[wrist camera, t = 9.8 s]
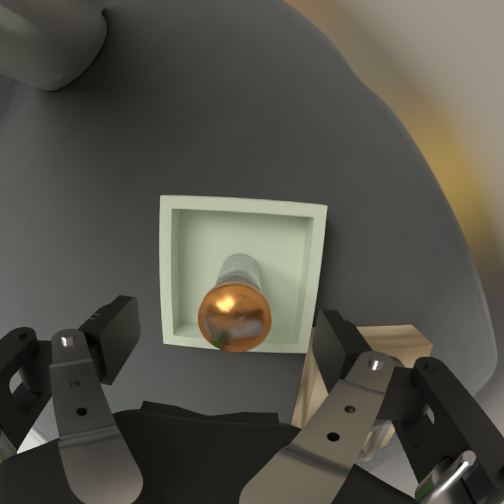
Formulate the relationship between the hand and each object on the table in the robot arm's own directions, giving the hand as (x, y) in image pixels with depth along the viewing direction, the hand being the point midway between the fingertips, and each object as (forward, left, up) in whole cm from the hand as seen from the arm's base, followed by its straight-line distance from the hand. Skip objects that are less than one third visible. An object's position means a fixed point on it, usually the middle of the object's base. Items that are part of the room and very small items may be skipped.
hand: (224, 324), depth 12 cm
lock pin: (0, 0, -9) cm, 9 cm away
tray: (0, 0, -9) cm, 9 cm away
